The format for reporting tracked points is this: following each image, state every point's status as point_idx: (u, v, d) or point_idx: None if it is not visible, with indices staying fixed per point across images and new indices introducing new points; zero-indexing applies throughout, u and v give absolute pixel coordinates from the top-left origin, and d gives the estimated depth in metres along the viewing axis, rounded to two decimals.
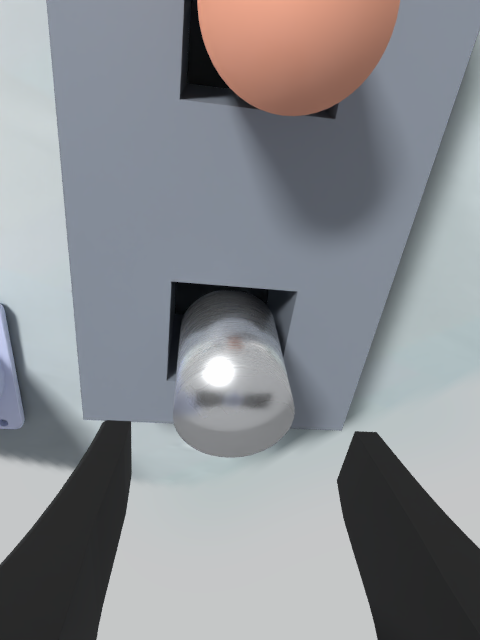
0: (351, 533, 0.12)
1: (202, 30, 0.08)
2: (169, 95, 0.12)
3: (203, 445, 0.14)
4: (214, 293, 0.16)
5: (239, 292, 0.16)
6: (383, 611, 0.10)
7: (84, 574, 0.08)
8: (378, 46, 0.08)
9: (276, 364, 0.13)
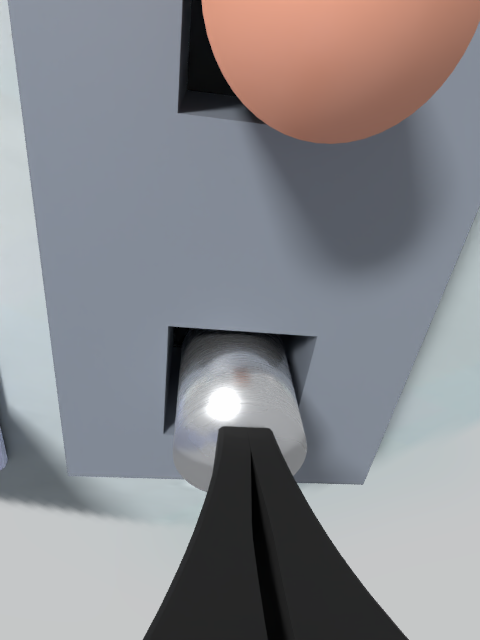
0: None
1: (207, 25, 0.06)
2: (164, 108, 0.10)
3: (206, 484, 0.12)
4: None
5: None
6: None
7: None
8: (455, 48, 0.06)
9: (287, 396, 0.12)
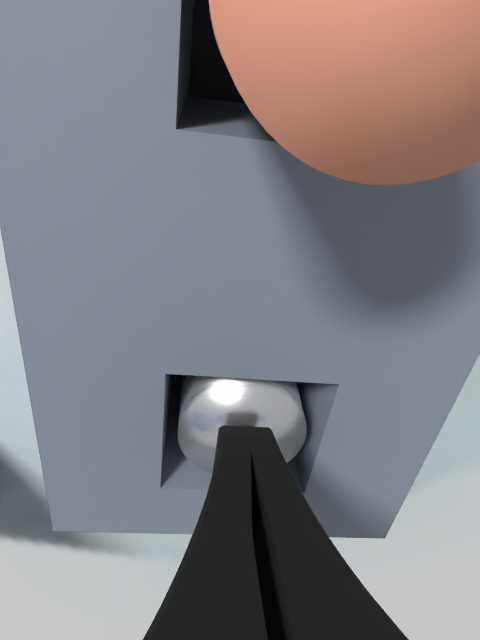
0: None
1: (215, 17, 0.04)
2: (160, 123, 0.08)
3: (209, 465, 0.13)
4: None
5: None
6: None
7: None
8: None
9: (287, 381, 0.12)
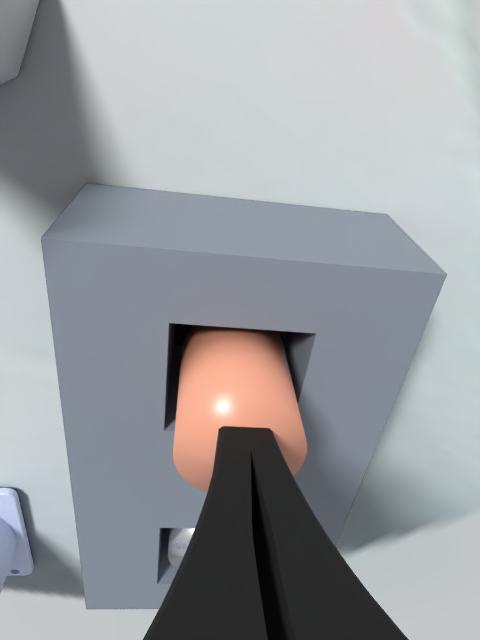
0: None
1: (176, 468, 0.12)
2: (155, 428, 0.15)
3: None
4: None
5: None
6: None
7: None
8: (295, 467, 0.12)
9: None
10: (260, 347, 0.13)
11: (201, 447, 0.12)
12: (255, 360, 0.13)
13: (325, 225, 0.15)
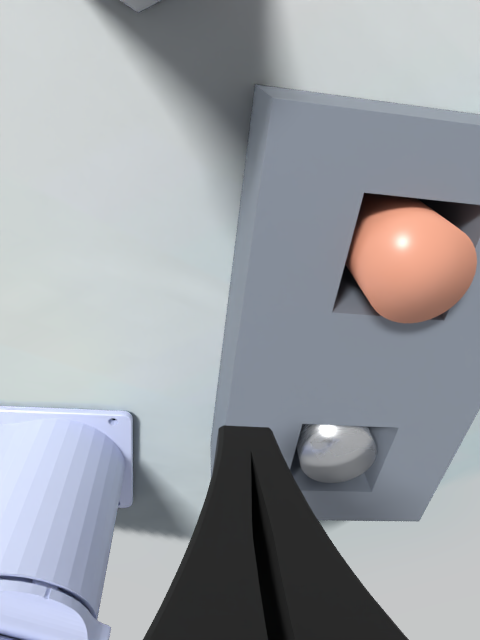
0: None
1: (367, 289, 0.14)
2: (325, 310, 0.16)
3: (315, 475, 0.21)
4: None
5: None
6: None
7: None
8: (461, 292, 0.15)
9: None
10: (421, 202, 0.16)
11: (392, 267, 0.14)
12: (424, 206, 0.15)
13: None
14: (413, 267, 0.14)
